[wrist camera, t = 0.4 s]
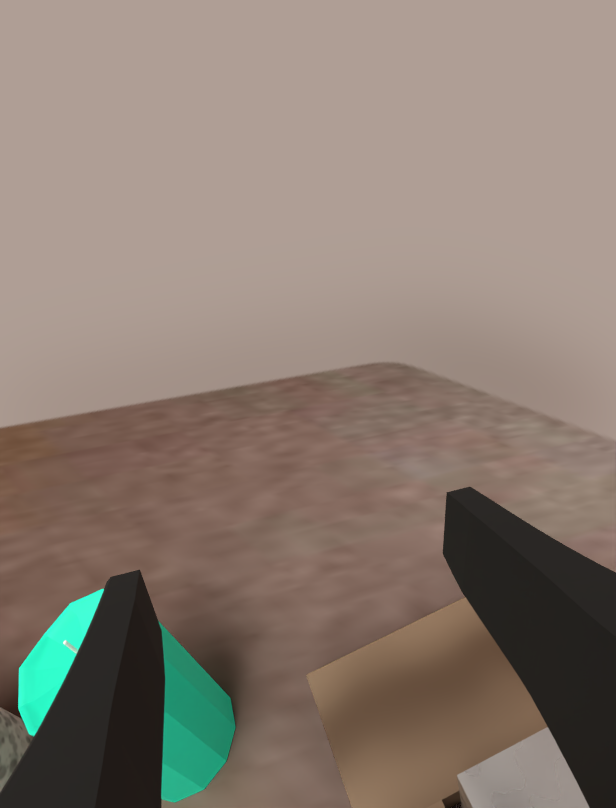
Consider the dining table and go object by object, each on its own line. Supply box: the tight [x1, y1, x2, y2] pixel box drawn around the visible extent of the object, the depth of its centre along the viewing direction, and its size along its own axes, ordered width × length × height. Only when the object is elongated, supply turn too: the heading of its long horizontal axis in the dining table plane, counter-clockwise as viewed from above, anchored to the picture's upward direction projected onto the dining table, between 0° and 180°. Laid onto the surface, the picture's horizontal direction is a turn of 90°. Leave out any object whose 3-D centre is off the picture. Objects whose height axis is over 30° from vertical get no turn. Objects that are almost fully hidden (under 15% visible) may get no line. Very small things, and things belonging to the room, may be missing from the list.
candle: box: [18, 589, 236, 802], centre depth 24 cm, size 6×6×12 cm
